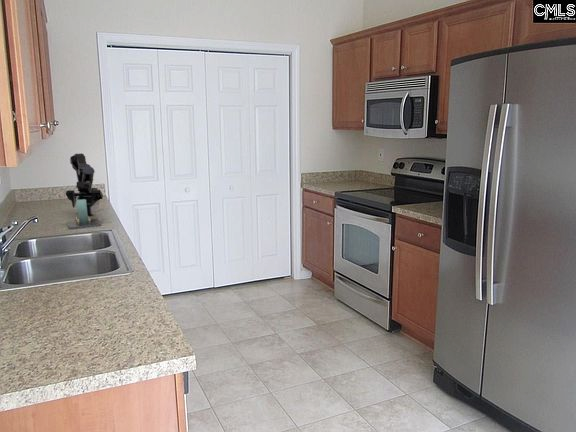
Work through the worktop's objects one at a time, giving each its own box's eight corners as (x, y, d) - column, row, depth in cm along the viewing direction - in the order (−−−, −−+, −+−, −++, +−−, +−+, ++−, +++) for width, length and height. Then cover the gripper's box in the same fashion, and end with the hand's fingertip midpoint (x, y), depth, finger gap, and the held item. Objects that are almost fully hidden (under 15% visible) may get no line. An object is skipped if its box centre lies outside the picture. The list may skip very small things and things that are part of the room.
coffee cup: (86, 210, 306) (83, 187, 303) (101, 209, 309) (98, 186, 306) (85, 212, 298) (83, 189, 295) (100, 211, 301) (98, 188, 298)
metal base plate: (66, 224, 265) (65, 216, 264) (96, 220, 272) (96, 213, 272) (69, 229, 251) (68, 221, 250) (101, 225, 259) (100, 218, 258)
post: (78, 222, 262) (75, 199, 260) (87, 221, 265) (85, 198, 262) (79, 224, 258) (76, 201, 256) (89, 223, 261) (86, 200, 258)
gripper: (64, 176, 261) (59, 199, 253) (99, 175, 263) (94, 198, 254) (71, 188, 270) (66, 210, 262) (104, 187, 272) (100, 209, 263)
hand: (81, 207), depth 260 cm, fingers open, 9 cm apart
